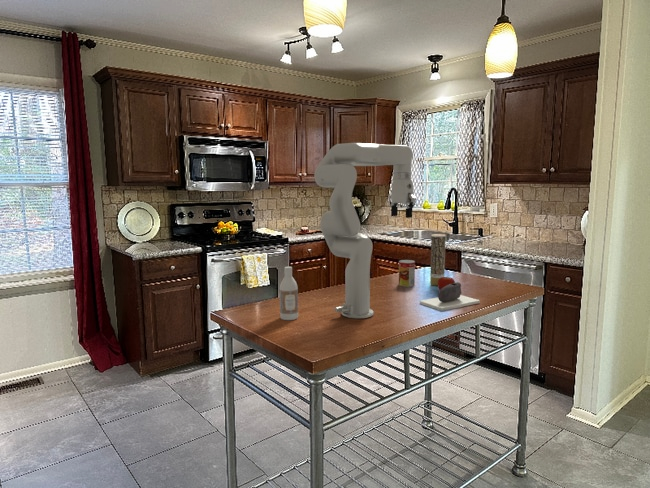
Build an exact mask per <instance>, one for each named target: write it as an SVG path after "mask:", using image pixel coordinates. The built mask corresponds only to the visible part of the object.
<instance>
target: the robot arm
mask: <svg viewBox="0 0 650 488" xmlns="http://www.w3.org/2000/svg"><path fill="white" fill-rule="evenodd" d="M413 157H414V154H413V150H412V148H411V147H410V146H409V145H402V144H384V143H383V144H382V143H381V144H380V143H364V142H363V143H362V142H348V143H336V144H335V145H333V146H332V147H331V148H330V149H329V150H328V151H327V153H326V154H325V155H324V157H323V158H322V160H320V162H319V164H318V165H317V166H316V168H315V171H314V181H315V183H316V184H317V186H319V187H321V188H328V189H330V188H333V191H332V194H331V196H329V201H328V204H329V206H328V207H329V208H330V210H328V211H326V212H324V213H323V214H322V216H321V218H320V231H321V233H322V235H323V238H324V239H325V242H326V245H327V246H328V248H329V251H330V252H331V253H332V254H333V255H334V256H335V257H340V258H345V259H346V258H347V259H349V261H348V263H347V265H346V267H345V271H344V273H345V274H344V276H345V278H344V279H345V280H344V281H345V282H344V283H345V286H344V287H345V291H344V292H345V296H344V297H345V302H343V303H342V305H341V306H336V307H334V311H335V313H339V312H341V315H342V316H343V317H345V318H349V319H367V318H371V317H372V316H374V310H373V309H371V308H370V307H371V306H370V304H371V303H370V301H371V300H370V299H371V298H370V297H371V294H370V290H371V286H370V285H371V270H370V269H371V259H372V253H373V245H374V244H373V242H372V240H371V238H369V237H368V236H367V235H363V234H360V232H361V229H362V228H361V222H360V218H359V216H358V213H357V210H356V209H355V206H354V202H353V191H354V188H355V185H356V183H357V178H358V172H357V169H356V167H378V166H380V167H381V166H393V167H392V168H393V170H392V171H393V173H392V176H393V177H392V184H391V193H390V195H389V196H388V197H387V199H388V202H389V203H388V204H389V205H390V216H391V217H397V216H398V210H399V209H398V204H403V205H405V207H406V208H405V218H413V209H414V206H415V205H416V201H417V197H416V196H414V182H413V179H412V160H413Z"/></svg>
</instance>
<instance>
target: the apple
mask: <svg viewBox="0 0 650 488" xmlns="http://www.w3.org/2000/svg"><path fill="white" fill-rule="evenodd" d="M452 283H456V281H455V279H454V278H453V277H450V276H449V277H448V276H444V277H441V278H440V279H439V280H438V286H437V287H438V290H439V291H440V290H441V289H442V288H443V287H445V286H447V285H449V284H452Z"/></svg>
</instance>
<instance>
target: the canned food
mask: <svg viewBox="0 0 650 488" xmlns="http://www.w3.org/2000/svg"><path fill="white" fill-rule="evenodd" d="M415 277H416V261H415V260H412V259H401V260H398V285H399V286H400V287H403V288H404V287H407V288H408V287H415V283H416V282H415V281H416V280H415Z"/></svg>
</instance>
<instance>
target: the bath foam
mask: <svg viewBox="0 0 650 488" xmlns="http://www.w3.org/2000/svg"><path fill="white" fill-rule="evenodd" d="M283 271H284V272H283V273H284V275H283V276H284V277H283V278H282V280H281V282H280V284H279V315H280V316H279V317H280V319H281V320H283V321H294V320H297V319H298V318H299V295H298V294H299V291H298V289H299V288H298V284H297V281H296V280H295V278H294V277H293V266H284V269H283Z"/></svg>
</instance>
